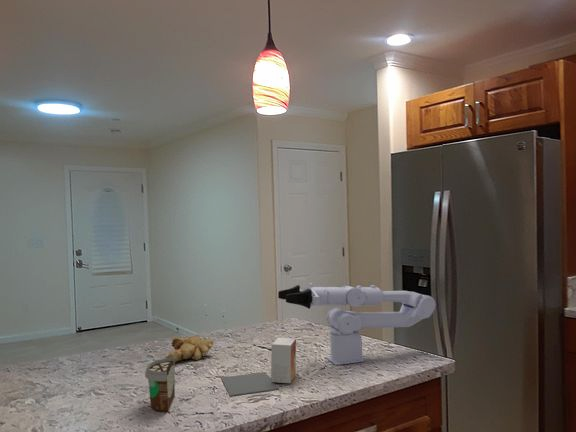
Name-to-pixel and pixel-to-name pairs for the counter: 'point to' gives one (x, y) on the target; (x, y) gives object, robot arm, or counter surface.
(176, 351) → the ginger root
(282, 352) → the small box
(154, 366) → the food container
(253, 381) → the mat
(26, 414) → the counter surface
